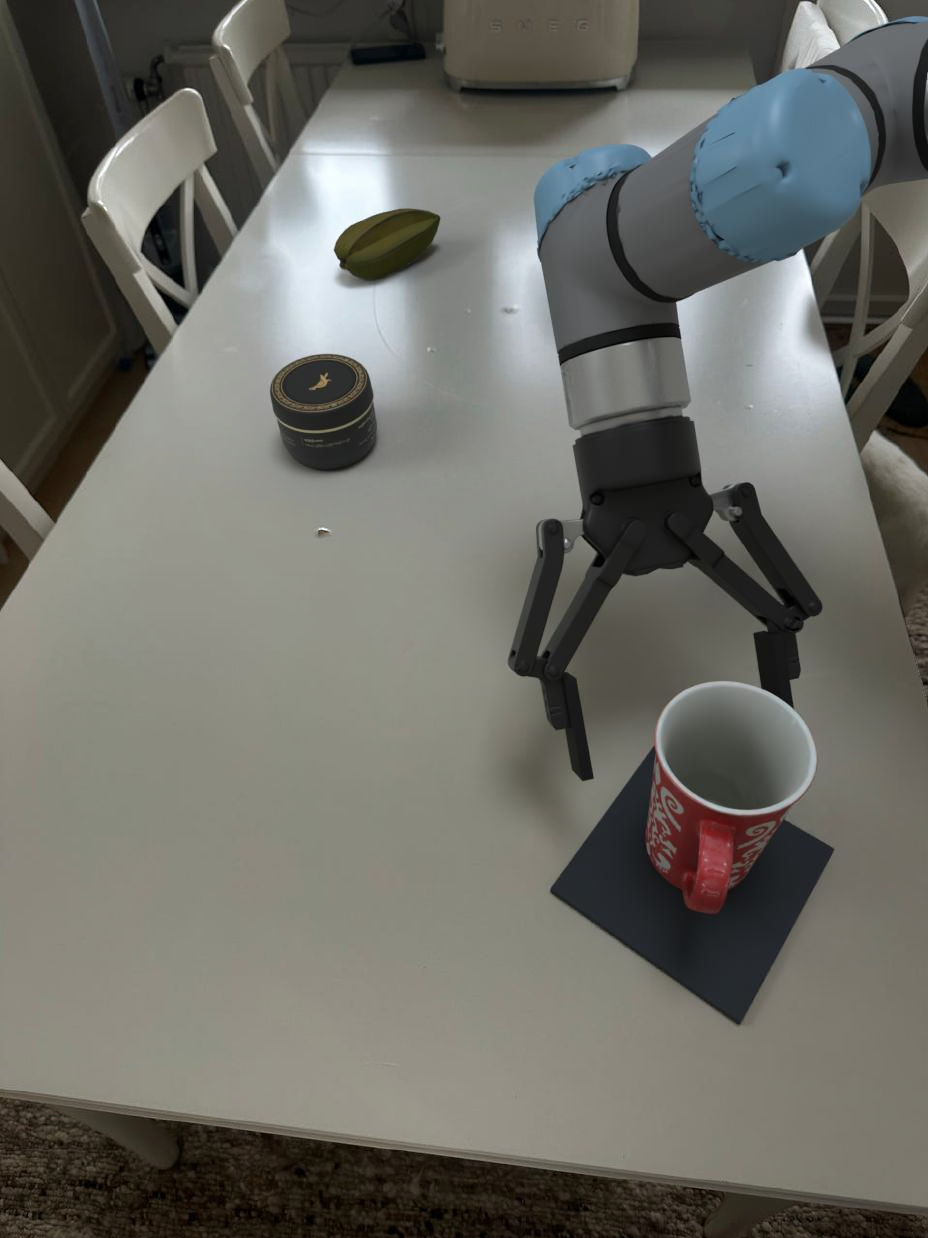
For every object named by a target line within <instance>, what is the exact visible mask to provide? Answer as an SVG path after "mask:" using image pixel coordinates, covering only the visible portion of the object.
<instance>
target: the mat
mask: <svg viewBox="0 0 928 1238" xmlns="http://www.w3.org/2000/svg"><path fill="white" fill-rule="evenodd" d="M655 755H656V751H655V745H653V746H652V748H651V749H650V750H649V752H648V753H647V754H646V755H645V757H644V759H643V760H642V761H641V762H640V764H639V765H638V767H637V769H636V770H635V771H634V772H633V774H632V775H631V777H630V778H629V779H628V781H627V782H626V783H625V785H624V786H623V788H622V789H621V790H620V792H619V793H618V794H617V796H616V797H615V799H614V800H613V801H612V803H611V804H610V806H609V807H608V809H606V811H605V813H604V814H603V815H602V817H601V818H599V820H598V822H597V824H596V825H595V827H594V828H593V829H592V830H591V832H590V833H589V834H588V836H587V837H586V838H585V840H584V842H583V843H582V844H581V846H580V847H579V848H578V850H577V851H576V852H575V854H574V855H573V857H572V858H571V859H570V861H569V862H568V863H567V865H566V866H565V868H564V869H563V870H562V872H561V873H560V874H559V876H558V878H557V879H556V880H555V881H554V883H553V884H552V885H551V887H550V890H549V892H550V893H551V894H552V895H554V896H555V897H557V898H558V899H559V900H561V901H563V902H564V903H565V904H566V905H568V906H569V907H571V908H572V909H574V910H575V911H576V912H577V913H580V914H581V915H582V916H584V917H585V918H587V920H589V921H591V922H592V923H594V924H595V925H597V927H599V928H600V929H602V930H603V931H605V932H606V933H607V934H609V935H610V936H611V937H613V938H615V939H616V940H618V941H619V942H621V943H622V944H624V945H625V946H626V947H628V948H629V949H630V950H632V951H633V952H635V953H636V954H637V955H639V956H640V957H642V958H643V959H645V960H646V961H647V962H649V963H650V964H651V965H653V966H654V967H656V968H657V969H659V970H660V971H662V972H663V973H664V974H666V975H667V976H668V977H670V978H672V979H673V980H674V981H676V982H677V983H679V984H680V985H681V986H683V987H685V989H687V990H689V991H690V992H691V993H693V994H694V995H696V996H697V997H698V998H700V999H701V1000H703V1001H704V1002H705V1003H707V1004H708V1005H710V1006H711V1007H712V1008H714V1009H715V1010H717V1011H718V1012H719V1013H720V1014H722V1015H724V1016H726V1017H727V1018H728V1019H730V1020H731V1021H732V1022H734V1023H735V1024H737V1025H740V1024H741V1023H742V1022H743V1020H744V1018H745V1017H746V1014H747V1013H748V1010H749V1009H750V1007H751V1005H752V1003H753V1002H754V999H755V997H756V996H757V995H758V992H759V990H760V988H761V986H762V984H763V983H764V981H765V979H766V977H767V975H768V973H769V972H770V970H771V968H772V966H773V965H774V963H775V960H776V958H777V957H778V955H779V954H780V951H781V949H782V948H783V946H784V944H785V942H786V940H787V938H788V937H789V934H790V933H791V931H792V929H793V927H794V925H795V924H796V922H797V920H798V918H799V916H800V914H801V912H802V911H803V909H804V907H805V905H806V903H807V901H808V899H809V898H810V896H811V894H812V893H813V890H814V889H815V886H816V884H817V883H818V881H819V879H820V878H821V875H822V873H823V872H824V870H825V868H826V866H827V864H828V862H829V861H830V858H831V857H832V855H833V853H834V851H835V847H832V846H831V845H829V844H827V843H825V842H824V841H822V840H820V839H819V838H817V837H815V836H814V835H812V834H810V833H808V832H807V831H805V830H803V829H801V828H800V827H798V826H797V825H795V824H793V823H792V822H790V821H788V820H787V819H786V818H784V820H783V821H782V823H781V824H780V826H779V827H778V828H777V830H776V831H775V833H774V834H773V836H772V837H771V839H770V840H769V842H768V843H767V845H766V846H765V848H764V849H763V851H762V852H761V854H760V855H759V857H758V858H757V860H756V861H755V863H754V864H753V866H752V868H751V869H750V870H749V872H748V873H747V875H746V876H745V877H744V879H743V880H742V881H741V882H740V883H739V884H738V885H736V886H735V887H734V888H732V889H730V890H728V892H727V896H726V898H725V901H724V904H723V906H722V908H721V909H720V911H719V912H718V913H715V914H708V913H702V912H698V911H694V910H691V909H689V908H688V907H687V906H686V904H685V901H684V897H683V890H681V889H679V888H677V887H675V886H674V885H672V884H671V883H669V882H668V881H667V880H665V879H664V878H663V877H662V875H661V874H660V873H659V872H658V871H657V870H656V868H655V867H654V865H653V863H652V862H651V860H650V858H649V854H648V852H647V847H646V826H647V820H648V812H649V804H650V795H651V789H652V781H653V771H654V762H655Z"/></svg>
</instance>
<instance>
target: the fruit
mask: <svg viewBox="0 0 928 1238" xmlns="http://www.w3.org/2000/svg"><path fill="white" fill-rule="evenodd" d="M440 222H441V216H440V214H437V213H435V212H433V211H429V210H425V209H419V208H408V207H407V208H398V209H393V210H387V211H383V212H379V213H375V214H373V215H371V216H369V217H367V218H364V219H362V220H359V221H357V222H355V223H352V224H350V225H349V226H348V227H347V228H345V229H344V231H342V233H341V234H339V236H338V238H337V239H336V241H335V244H334V248H333V252H334V254H335V257H336V259H337V260H338V261H339V268H340V269H341V270H344V271H347V272H349V273H350V274H351V275H352V276H354V277H355V278H358V279H361V280H363V281H375V280H380V279H384V278H387V277H388V276H390V275H393V274H396V273H398V272H400V271H401V270H404V269H405V268H407V266H409V265H411V264H412V263H414V262H415V261H416V260H417V259H419V258H420V257H421V256H422V255H423V254H424V253H425V252H426V250H427V249H428V248H430V246H431V245H432V244H433V242H434V239H435V237H436V235H437V233H438V230H439V226H440Z"/></svg>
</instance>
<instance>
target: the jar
mask: <svg viewBox="0 0 928 1238" xmlns="http://www.w3.org/2000/svg"><path fill="white" fill-rule="evenodd" d="M374 394H375V393H374V390H373V386H372V381H371V377H370V374H369V373H368V370H367V368H366V367H365V366H364V365H363V364H362V363H361V362H360V361H357V360H356V359H354V358H352V357H350V356H346V355H342V354H337V353H319V354H312V355H307V356H303V357H300V358H298V359H295V360H293V361H292V362H290V363H288V364H287V365H285V366H283V367H282V368H280V370H278V371H277V373H276V374H275V375H274V376H273V379H272V381H271V383H270V386H269V395H270V401H271V406H272V412H273V414H274V417H275V418H276V423H277V426H278V430H279V433H280V437H281V440H282V442H283V444H284V447H285V449H286V450H287V451H288V453H289V454H290V456H291V457H292V458H293V459H294V460H295V461H296V462H297V463H299V464H301V465H303V466H305V467H307V468H311V469H314V470H320V471H333V470H339V469H343V468H346V467H350V466H351V465H354V464H356V463H357V462H359V461H361V460H362V459H363V458H364V457H365V456H366V455H367V454H368V453H369V452H370V450H371V449H372V447H373V446H374V443H375V440H376V437H377V436H376V435H377V426H378V424H377V423H378V422H377V415H376V409H375V403H374V399H375V396H374Z"/></svg>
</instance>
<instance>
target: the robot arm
mask: <svg viewBox="0 0 928 1238" xmlns="http://www.w3.org/2000/svg"><path fill="white" fill-rule="evenodd" d="M922 180H928V16H923V15H914V16H907V17H902V18H899V19H895V20H893V21H889V22H886V23H882V24H879V25H877V26H875V27H872V28H869V29H866V30H864V31H862V32H860V33H858V34H856V35H855V36H854V37H853V38H851V39H850V40H849V41H847V42H846V43H844V44H843V45H841V47H839V48H837V49H835V50H834V51H832V52H830V53H828V54H826V55H824V56H823V57H821V58H820V59H818V60H816V61H814V62H812V63H810V64H809V65H807V66H806V67H797V68H793V69H789V70H786V71H784V72H781V73H780V74H778V75H776V76H774V77H772V78H771V79H769V80H767V81H766V82H763V83H760V84H758V85H755V86H754V87H752V88H750V89H749V90H747V91H746V92H744V93H743V94H741V95H738V96H736V97H733V98H731V99H730V100H729V102H727V103H725V104H724V105H722V106H721V107H720V108H719V109H718V110H717V111H716V113H714V114H713V115H711V116H710V117H708V118H707V119H706V120H704V121H703V122H701V123H700V124H698V125H697V126H696V127H694V128H693V129H691V130H689V131H688V132H687V133H685V134H684V135H682V136H681V137H679V138H678V139H677V140H675V141H674V142H673V143H671V144H670V145H668V146H667V147H665V148H664V149H663V150H661V151H660V152H658V153H657V154H655V155H654V156H651V154H650V153H649V152H648V151H647V150H646V149H645V148H643V147H640V146H639V145H635V144H628V143H614V144H606V145H600V146H596V147H592V148H588V149H585V150H582V151H580V152H579V153H578V154H577V155H575V156H573V157H571V158H564V159H562V160H560V161H558V162H557V163H555V164H554V165H552V166H551V167H549V168H548V169H547V170H546V171H544V173H543V174H542V176H541V177H540V178H539V180H538V181H537V184H536V186H535V188H534V193H533V207H534V216H535V225H536V234H537V241H536V243H537V247H536V253H537V254H536V255H537V258H538V260H539V262H540V265H541V270H542V276H543V281H544V287H545V292H546V293H545V294H546V298H547V304H548V309H549V315H550V320H551V321H550V322H551V327H552V332H553V338H554V342H555V343H554V344H555V349H556V354H557V355H558V356H557V358H558V364H559V368H560V375H561V382H562V388H563V393H564V400H565V406H566V413H567V419H568V426H569V427H570V428H571V429H573V430H575V431H579V432H580V437H578V438H576V439H575V440H574V444H573V445H572V451H573V456H574V463H575V469H576V474H577V481H578V486H579V492H580V498H581V506H582V508H581V513H580V516H579V518H578V519H565V520H559V519H557V518H546V519H541V520H540V521H539V522H537V524H536V526H535V537H536V553H537V557H536V560H535V564H534V567H533V571H532V574H531V577H530V581H529V584H528V587H527V591H526V595H525V598H524V602H523V605H522V609H521V612H520V616H519V619H518V622H517V627H516V630H515V632H514V635H513V640H512V643H511V647H510V651H509V654H508V658H507V665H508V667H509V668H510V670H511V671H513V672H514V673H515V674H516V675H517V676H519V677H523V678H525V677H527V678H529V677H530V678H536V679H538V680H539V683H540V687H541V693H542V698H543V699H542V700H543V704H544V711H545V717H546V719H547V721H548V723H549V725H550V726H551V727H552V728H553V729H554V730H555V731H560V730H564V734H565V739H566V743H567V749H568V754H569V762H570V766H571V767H570V768H571V771H572V772H573V773H574V774H575V775H576V776H577V777H578V778H579V779H580V781H581V782H586V781H590V780H594V779H595V777H594V771H593V766H592V760H591V755H590V748H589V742H588V737H587V731H586V725H585V720H584V713H583V707H582V702H581V697H580V691H579V684H578V679H577V677H575V676H574V675H573V674H570V673H569V672H568V671H566V670H567V668H568V667H569V664H570V663H571V661H572V659H573V657H574V656H575V654H576V653H577V650H578V649H579V647H580V645H581V644H582V642H583V640H584V638H585V636H586V634H587V633H588V631H589V629H590V627H591V626H592V624H593V623H594V621H595V619H596V617H597V615H598V614H599V612H600V610H601V608H602V607H603V605H604V603H605V601H606V599H607V598H608V596H609V594H610V592H611V591H612V590H613V589H614V588H615V587H616V586H617V584H618V583H619V581H620V579H621V578H622V576H623V575H626V576H628V577H629V576H630V577H640V576H645V575H649V574H651V573H653V572H655V571H657V570H659V569H664V570H676V569H680V568H684V566H685V564H687V563H689V564H690V565H691V566H693V567H695V568H697V569H698V570H699V571H701V573H703V574H704V575H705V576H706V577H707V578H709V580H711V581H712V582H713V583H714V584H716V585H717V586H718V587H719V588H720V589H722V591H724V592H725V594H727V595H728V596H729V597H731V598H732V599H733V600H734V601H735V602H737V603H738V604H739V605H740V606H741V607H742V608H744V609H745V610H746V611H747V612H748V613H749V614H750V615H751V616H753V617H754V618H755V619H756V620H758V621H759V623H761V624H762V625H763V626H764V627H766V630H760V631H755V632H752V635H753V643H754V650H755V656H756V663H757V668H758V674H759V675H758V676H759V682H760V688H761V689H763V690H766V691H768V692H770V693H772V694H773V695H775V696H777V697H779V698H780V699H781V700H783V701H784V702H786V703H787V704H788V705H789V706H790V707H792V708H793V709H794V710H795V705H794V699H793V692H792V685H791V681H792V680H798V679H800V676H801V672H802V667H801V662H800V661H801V659H800V656H799V646H798V641H797V634H798V633H800V632H801V631H802V630H803V628H804V625H805V621H807V620H808V619H809V618H811V617H817V616H819V615H820V614H821V613H822V611H823V608H824V607H823V605H824V604H823V603H822V601H821V599H820V598H819V596H818V595H817V593H816V591H815V590H814V588H813V587H812V586H811V585H810V583H809V582H808V580H807V579H806V577H805V575H804V574H803V573H802V571H801V569H800V568H799V567H798V565H797V564H796V562H795V561H794V560H793V558H792V557H791V555H790V554H789V552H788V551H787V549H786V548H785V546H784V545H783V543H782V541H780V539H779V538H778V536H777V534H776V533H775V532H774V530H773V529H772V528H771V526H770V525H769V523H768V521H767V520H766V519H765V517H764V515H763V513H762V510H761V506H760V502H759V498H758V495H757V492H756V491H757V490H756V488H755V485H754V484H753V483H751V482H748V481H746V482H738V483H737V482H736V483H732V484H726V485H725V486H723V488H722V489H720V490H718V491H715V492H714V491H713V492H711V493H708V491H707V490H706V488H705V486H704V483H703V478H702V463H701V457H700V450H699V445H698V438H697V437H698V436H697V432H696V426H695V425H696V424H695V421H694V420H691V417H690V416H684V415H683V414H684V413H683V410H685V409H686V408H688V406H690V404H691V403H692V396H691V390H690V384H689V378H688V373H687V372H688V371H687V366H686V361H685V355H684V347H683V342H682V333H681V328H680V326H681V325H680V321H679V315H678V305H677V303H678V302H681V301H683V300H686V299H688V298H690V297H692V296H694V295H695V294H697V293H699V292H701V291H704V290H706V289H709V288H711V287H714V286H716V285H718V284H720V283H723V282H726V281H729V280H731V279H733V278H736V277H738V276H740V275H743V274H745V273H748V272H750V271H752V270H754V269H757V268H759V267H762V266H765V265H767V264H769V263H772V262H774V261H775V262H782V261H784V260H787V259H790V258H792V257H794V256H797V254H798V253H799V252H801V250H803V249H805V248H806V247H808V246H810V245H812V244H814V243H815V242H817V241H819V240H821V239H823V238H824V237H826V236H828V235H831V234H832V233H834V232H837V231H838V230H840V229H841V228H843V227H844V226H845V225H846V224H847V223H848V222H849V221H851V219H852V218H853V217H854V216H855V215H856V213H857V212H858V210H859V208H860V206H861V202H862V201H861V199H862V197H865V195H867V194H869V193H870V192H872V191H874V190H875V189H878V188H880V187H883V186H888V185H895V184H900V183H909V182H917V181H922ZM714 512H716V513H717V514H718V517H719V518H720V519H721V520H722V521H724V522H728V523H729V525H730V528H731V529H732V531H733V532H734V534H735V535H736V537H737V538H738V540H739V541H740V543H741V544H742V545H743V548H744V549H745V550H746V551H747V553H748V554H749V556H750V558H751V559H752V560H753V561H754V563H755V565H756V566H757V568H758V569H759V570H760V572H761V573H762V574H763V575H764V576H763V577H765V580H767V582H768V583H769V585H770V586H771V588H772V589H773V591H774V593H776V595H777V596H778V598H779V599H780V600H781V602H782V603H781V602H780V601H779V600H778V599H777V598H775V597H774V596H773V595H772V594H771V593H770V592H769V591H768V590H766V589H765V588H764V587H763V586H762V585H761V584H759V583H758V582H757V581H756V580H755V579H754V578H753V577H751V576H750V575H749V574H748V573H747V572H746V571H744V570H743V569H742V567H740V566H739V564H737V563H736V562H734V561H733V560H732V559H731V558H729V556H727V554H725V550H723V548H721V547H720V546H719V545H718V544H717V543H715V541H713V540H712V539H711V538H710V537H709V536H707V534H705V530H706V528H707V526H708V525H709V523H710V521H711V518H712V516H713V513H714ZM579 537H581V538H582V539H583V540H584V541H585V542H586V543H587V544H588V545H589V546H590V547H591V548H592V549H593V550H594V551H595V552H596V553H595V555H594V557H593V559H592V560H591V562H590V564H589V566H588V567H587V570H586V571H585V574H584V578H583V580H582V582H581V584H580V586H579V587H578V589H577V591H576V593H575V594H574V596H573V598H572V600H571V602H570V603H569V605H568V606H567V609H566V611H565V612H564V614H563V616H562V618H561V619H560V621H559V622H558V625H557V626H556V628H555V630H554V632H553V633H552V635H551V637H550V638H549V640H548V642H547V644H546V645H545V648H544V649H543V651H542V653H541V655H538V654H539V650H540V647H541V644H542V640H543V636H544V634H545V629H546V626H547V622H548V620H549V615H550V612H551V608H552V606H553V602H554V599H555V595H556V591H557V588H558V584H559V581H560V577H561V574H562V572H563V571H562V570H563V568H564V567H563V566H564V562H565V561H564V560H565V554H569V553H571V551H573V549H574V547H575V542H576V540H577V539H578V538H579Z"/></svg>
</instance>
